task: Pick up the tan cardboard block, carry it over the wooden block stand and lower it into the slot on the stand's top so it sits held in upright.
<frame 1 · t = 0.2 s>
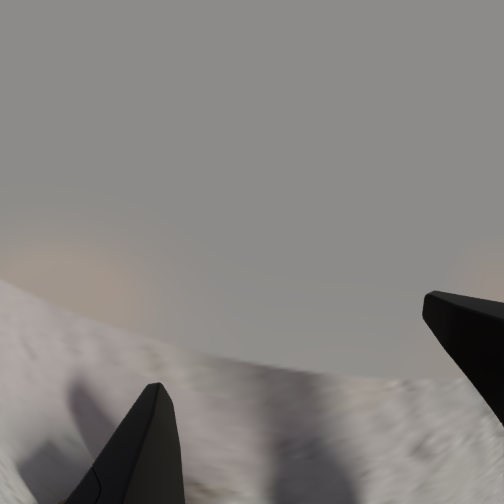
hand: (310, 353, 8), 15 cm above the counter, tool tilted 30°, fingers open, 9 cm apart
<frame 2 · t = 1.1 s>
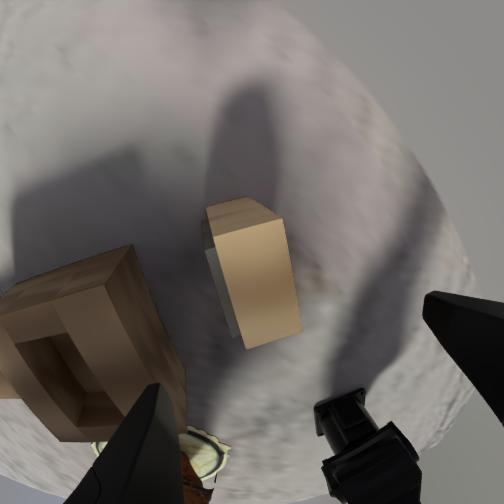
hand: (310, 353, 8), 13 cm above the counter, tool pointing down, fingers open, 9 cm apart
decorative vase: (160, 456, 27), on the counter
wooden block stand: (95, 331, 20), on the counter
tan cardboard block: (233, 243, 20), on the counter
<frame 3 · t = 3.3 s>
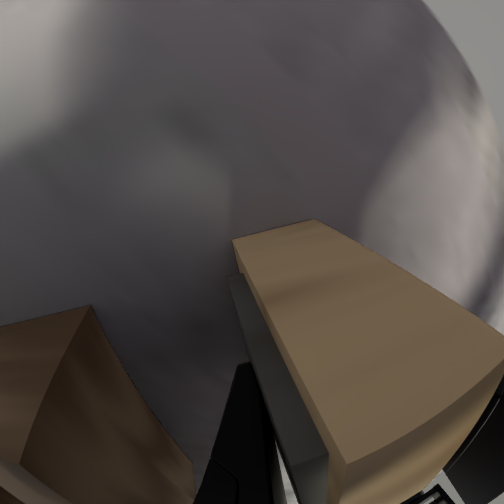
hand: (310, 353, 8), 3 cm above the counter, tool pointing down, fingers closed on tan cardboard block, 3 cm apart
wooden block stand: (58, 416, 10), on the counter
tan cardboard block: (281, 304, 11), on the counter, touching gripper
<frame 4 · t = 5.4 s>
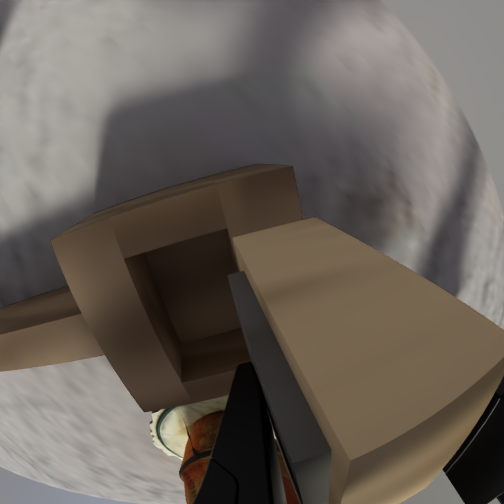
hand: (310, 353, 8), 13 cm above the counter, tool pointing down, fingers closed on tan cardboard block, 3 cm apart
decorative vase: (230, 430, 27), on the counter
wooden block stand: (196, 267, 20), on the counter
tan cardboard block: (281, 303, 11), point 10 cm above the counter, touching gripper
when the fingers open (7 cm above the counter, at t = 7.9 s): tan cardboard block drops 1 cm, resting on wooden block stand.
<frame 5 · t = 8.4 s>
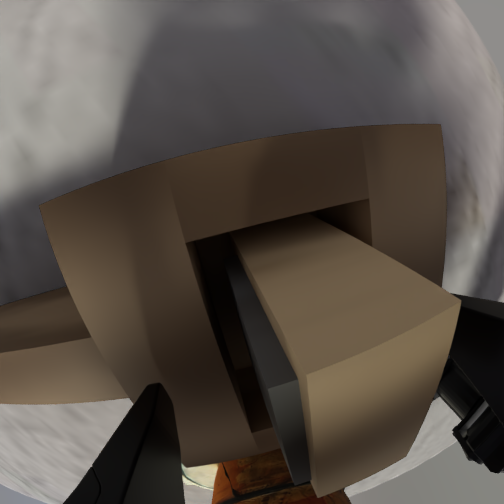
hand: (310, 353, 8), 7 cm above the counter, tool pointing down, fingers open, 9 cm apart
decorative vase: (263, 456, 22), on the counter
wooden block stand: (255, 263, 15), on the counter
tan cardboard block: (272, 287, 12), point 3 cm above the counter, touching wooden block stand
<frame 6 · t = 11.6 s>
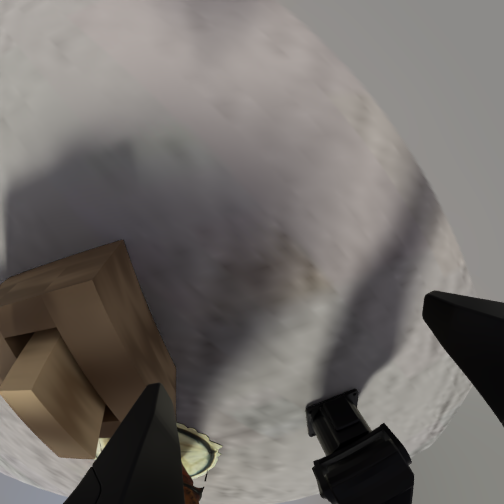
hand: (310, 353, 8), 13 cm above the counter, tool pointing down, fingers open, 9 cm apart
decorative vase: (151, 454, 27), on the counter
wooden block stand: (86, 327, 20), on the counter
tan cardboard block: (76, 347, 17), point 3 cm above the counter, touching wooden block stand
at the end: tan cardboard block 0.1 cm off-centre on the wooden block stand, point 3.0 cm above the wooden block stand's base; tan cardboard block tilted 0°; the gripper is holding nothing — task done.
